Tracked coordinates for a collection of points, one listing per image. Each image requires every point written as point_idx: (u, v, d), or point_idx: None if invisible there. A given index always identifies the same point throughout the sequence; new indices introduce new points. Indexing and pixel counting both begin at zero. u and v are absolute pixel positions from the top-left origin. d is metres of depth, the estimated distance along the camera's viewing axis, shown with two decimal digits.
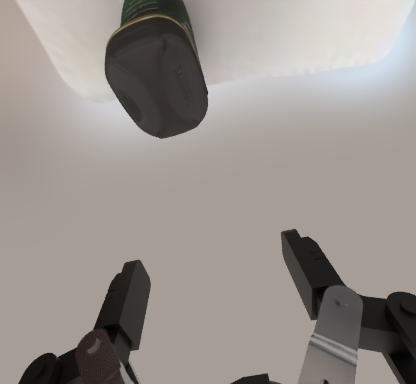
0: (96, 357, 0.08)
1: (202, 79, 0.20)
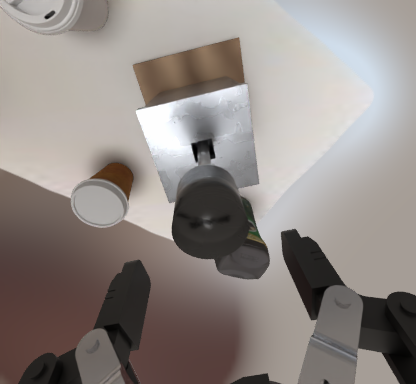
0: (96, 357, 0.08)
1: (254, 247, 0.38)
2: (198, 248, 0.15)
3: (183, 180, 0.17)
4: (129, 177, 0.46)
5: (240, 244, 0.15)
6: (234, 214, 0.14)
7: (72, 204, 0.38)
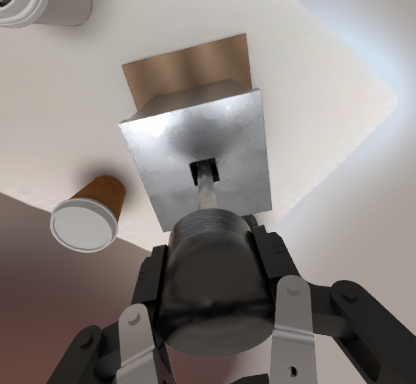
0: (135, 331, 0.09)
1: None
2: (199, 345, 0.10)
3: (177, 233, 0.12)
4: (120, 192, 0.41)
5: (263, 339, 0.10)
6: (256, 306, 0.09)
7: (51, 227, 0.33)
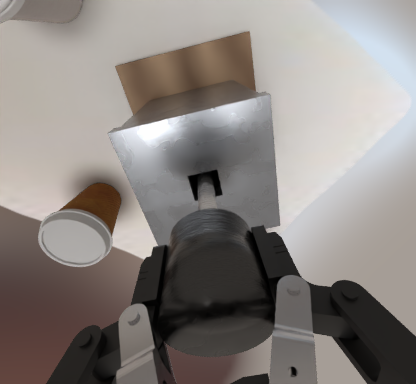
0: (135, 331, 0.09)
1: None
2: (199, 346, 0.10)
3: (177, 233, 0.12)
4: (115, 201, 0.38)
5: (263, 339, 0.10)
6: (256, 306, 0.09)
7: (40, 241, 0.30)
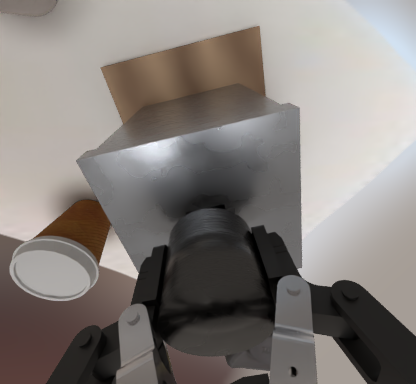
0: (135, 331, 0.09)
1: None
2: (199, 345, 0.10)
3: (177, 233, 0.12)
4: (104, 220, 0.34)
5: (263, 339, 0.10)
6: (256, 305, 0.09)
7: (12, 274, 0.26)
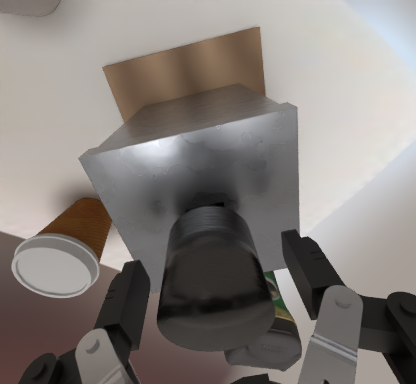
0: (96, 357, 0.08)
1: (280, 333, 0.26)
2: (198, 340, 0.10)
3: (176, 230, 0.12)
4: (105, 219, 0.34)
5: (260, 334, 0.10)
6: (254, 300, 0.09)
7: (14, 271, 0.26)
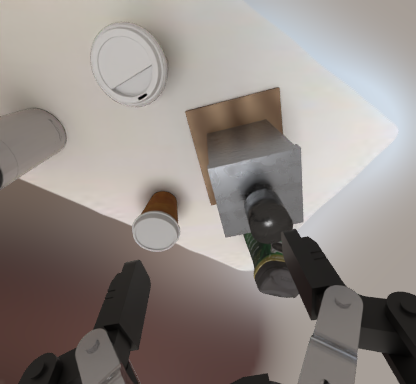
0: (96, 357, 0.08)
1: None
2: (263, 237, 0.28)
3: (251, 198, 0.30)
4: (175, 204, 0.52)
5: None
6: (285, 219, 0.27)
7: (134, 233, 0.44)
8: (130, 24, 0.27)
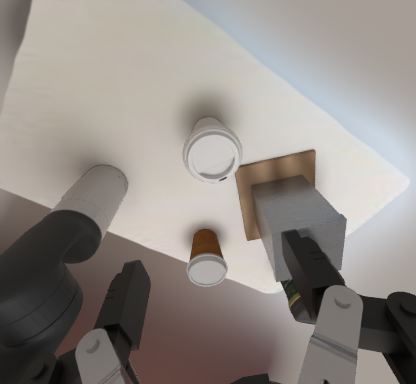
0: (96, 357, 0.08)
1: None
2: None
3: None
4: (218, 242, 0.59)
5: None
6: None
7: (189, 272, 0.51)
8: (219, 128, 0.34)
